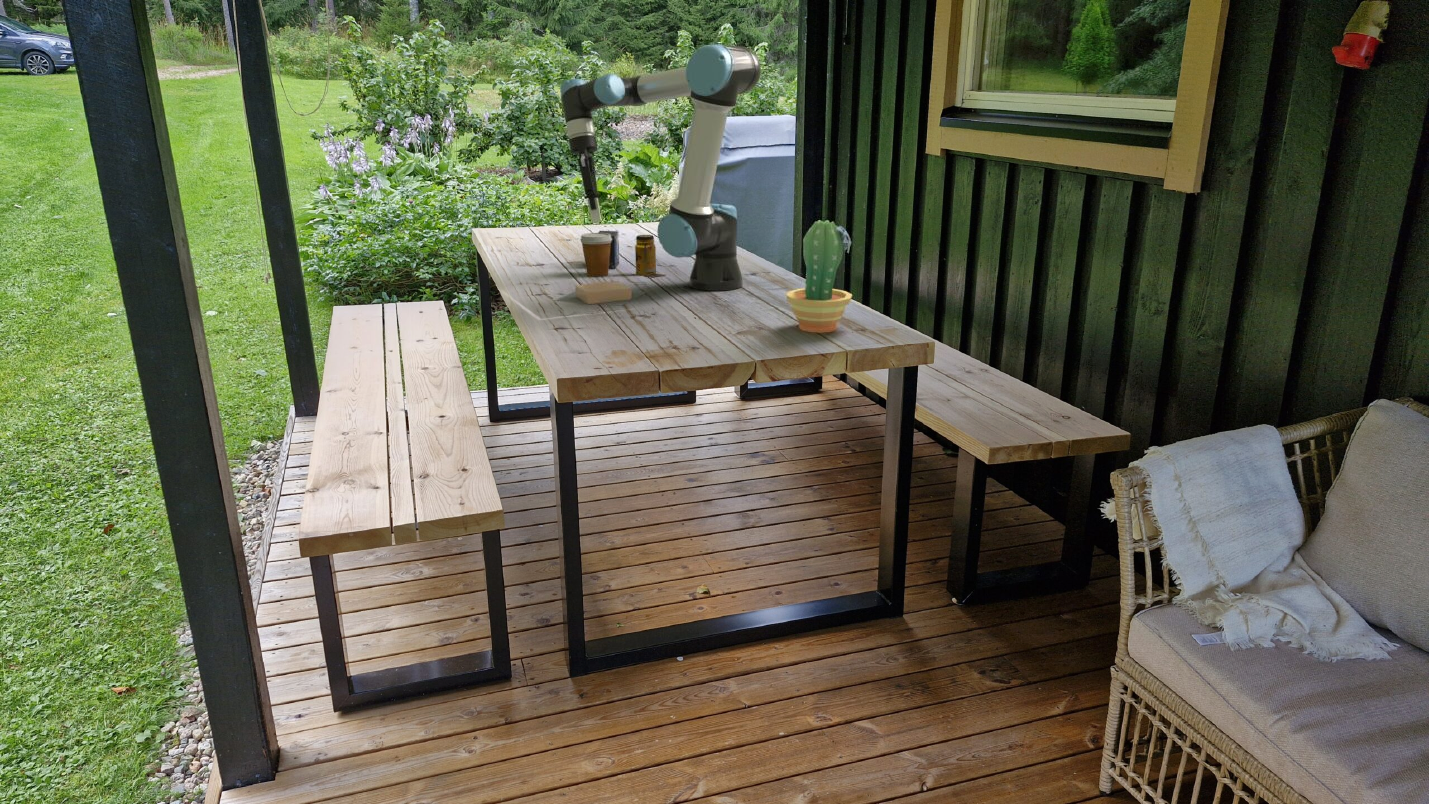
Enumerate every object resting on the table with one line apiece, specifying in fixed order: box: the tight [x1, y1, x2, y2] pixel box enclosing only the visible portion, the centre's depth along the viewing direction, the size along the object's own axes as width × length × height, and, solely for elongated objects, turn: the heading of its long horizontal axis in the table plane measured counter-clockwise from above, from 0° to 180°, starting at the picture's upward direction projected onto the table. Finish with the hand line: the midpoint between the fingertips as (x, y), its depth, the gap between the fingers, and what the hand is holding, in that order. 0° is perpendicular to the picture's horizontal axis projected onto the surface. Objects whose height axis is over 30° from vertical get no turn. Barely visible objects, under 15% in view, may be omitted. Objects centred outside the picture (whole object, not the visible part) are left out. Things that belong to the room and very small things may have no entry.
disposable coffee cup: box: [579, 232, 612, 278], centre depth 276 cm, size 10×10×12 cm
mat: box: [554, 290, 647, 307], centre depth 247 cm, size 19×17×1 cm
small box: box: [597, 230, 620, 270], centre depth 290 cm, size 11×6×10 cm, turn 179°
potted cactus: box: [785, 219, 853, 334], centre depth 214 cm, size 15×15×25 cm
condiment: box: [633, 234, 666, 279], centre depth 276 cm, size 7×8×12 cm
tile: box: [574, 280, 632, 305], centre depth 244 cm, size 3×12×10 cm
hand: (596, 221), depth 259 cm, fingers closed
